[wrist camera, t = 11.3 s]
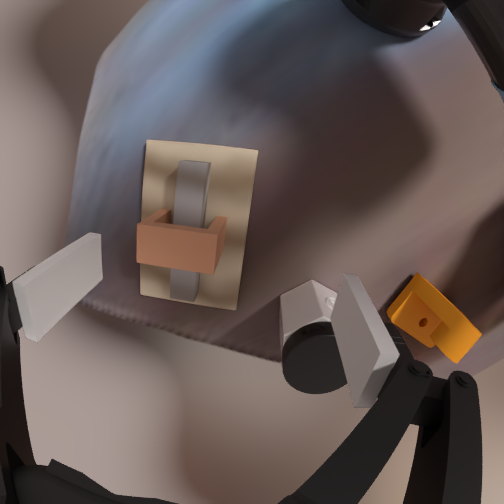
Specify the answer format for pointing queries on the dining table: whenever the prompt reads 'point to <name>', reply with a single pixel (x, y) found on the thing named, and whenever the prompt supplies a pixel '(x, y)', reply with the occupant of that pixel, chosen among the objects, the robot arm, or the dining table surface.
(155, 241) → the clip
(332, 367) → the jar
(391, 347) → the robot arm
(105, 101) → the dining table surface
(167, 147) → the rail board
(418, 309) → the bracket
